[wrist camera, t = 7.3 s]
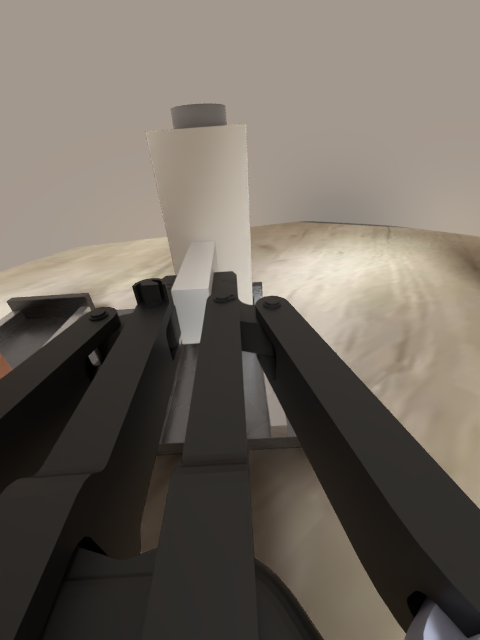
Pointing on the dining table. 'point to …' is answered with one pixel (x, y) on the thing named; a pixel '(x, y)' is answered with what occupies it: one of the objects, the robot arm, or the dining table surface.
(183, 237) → the white square bottle
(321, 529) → the dining table surface
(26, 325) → the dark grey divided tray
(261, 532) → the dining table surface
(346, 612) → the dining table surface
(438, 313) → the dining table surface
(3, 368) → the orange square bottle
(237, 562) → the robot arm
